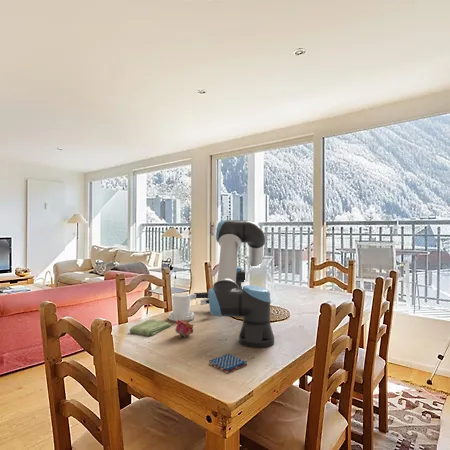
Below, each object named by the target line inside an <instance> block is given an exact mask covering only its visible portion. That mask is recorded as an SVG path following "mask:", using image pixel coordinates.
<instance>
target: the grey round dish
mask: <svg viewBox="0 0 450 450" xmlns="http://www.w3.org/2000/svg"><path fill="white" fill-rule="evenodd" d="M178 319H179V320H180V321H181V320H182V321H183V320H187V321H188V323H190V322H191V321H194V319H195V313H194V312H193V311H190V312H189V316H187V317H173V311H170V312H169V313H168V321H169V322H171V323H176V322H175V321H178Z"/></svg>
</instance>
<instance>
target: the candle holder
mask: <svg viewBox="0 0 450 450" xmlns="http://www.w3.org/2000/svg"><path fill="white" fill-rule="evenodd" d="M191 295H192V294H191V293H189V292H176V293H172V294H171V297H172V298H171V299H172V300H171V301H172V312H173V317H187V316H189V312H190V310H191V300H190V297H191Z"/></svg>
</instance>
